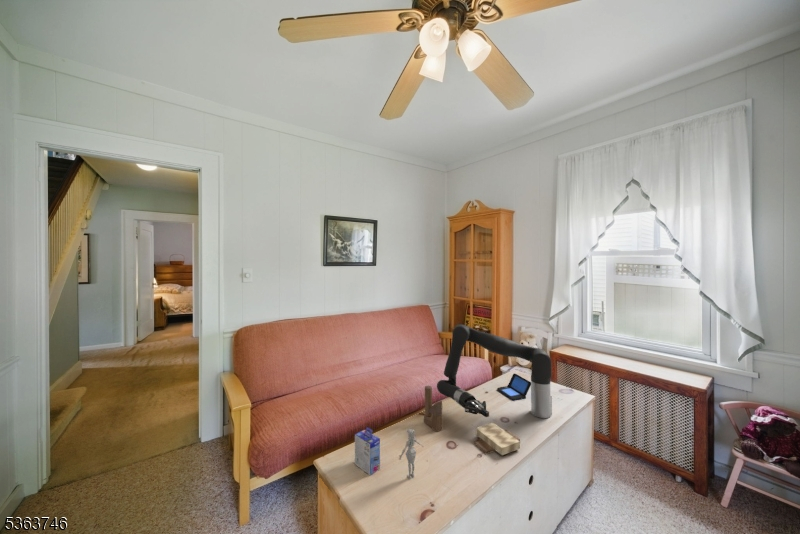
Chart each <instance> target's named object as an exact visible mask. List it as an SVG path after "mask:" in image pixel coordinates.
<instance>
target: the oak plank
mask: <svg viewBox="0 0 800 534" xmlns="http://www.w3.org/2000/svg"><path fill="white" fill-rule="evenodd" d="M504 430H505V429H502V428H501V427H500V426H499V425H497V424H496V423H494V422H491V423H488V424H485V425H482V426H478V427H476V428H475V431H476V432H475V436H476V437H479V439H482V440H484V441H485V442H486V443H487V444H488V445H490V446H491V447H492V448H493V449H495V450H496V452H497V453H498V454H499V455H501V456H504V455H507V454H510V453H512V452H515V451H517V450H520V449H521V440H520V441H519V440H517V439H516V438H514V437H513V436H511V435H510V434H509V433H507V432H506V431H504Z"/></svg>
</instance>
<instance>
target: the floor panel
mask: <svg viewBox="0 0 800 534" xmlns="http://www.w3.org/2000/svg"><path fill="white" fill-rule="evenodd" d="M503 430H504V431H506V432H507V433H509V434H510V435H511V436H513V437H514V438H516V439H517V440H519V441H520V442H521V439H520V438H519V437H517V436H516V435H514V434H513V433H512V432H510V431H509V430H507V429H503ZM473 443H474V445H476V447H478V448H479V449H480V450H481V451H482V452H484V453H485V455H487V454H490V453H493V452H495V451H496V450H495V449H493V448H492V447H491V446H490V445H488V444H487V443H486V442H485V441H484V440H482V439H481V438H479V439H475V440H474V441H473ZM496 452H497V451H496Z"/></svg>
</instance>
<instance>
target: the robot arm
mask: <svg viewBox="0 0 800 534" xmlns="http://www.w3.org/2000/svg"><path fill="white" fill-rule="evenodd" d="M451 334H452V337H451V346H450V349H449V354H448V356H447V360H446V362H445V367H444V369H443V370H444V371H443V375H444V376H445V377H446V378H447V380H446V379H440V380H439V381H437V383H436V388H437V389H436V390H437V391H438V392H439V394H441V395H443V396H445V397H448V398H450V399H451V400H453V401H454V402H456V404H458V405H459V406H461V407H462V408H463V409H464V413H469V414H472V415H478V414H479V415H482V416H483V417H485V418H489V417H490V411H488V410H487V401H485V400H483V401H482V402H481V401H480V400H477V398H476V397H475V396H474V395H473V394H471V393H470V392H468V391H466V390H465V389H462V388H461V387H460V386H457V374H458V371H459V370H458V369H459V367H460V362H461V357H462V353H463V349H464V347H465V345H466V343H467V342H469V343H473V344H476V345H478V346H480V347H482V348H483V349H485V350H487V351H489V352H492V353H494V354H497V355H501V356H504V357H511V358H513V357H514V358H520V359H522V360H525V361H527V362H529V363H531V374H530V382H531V386H530V403H531V404H530V406H531V407H530V408H531V409H530V410H531V411H530V413H531V414H532V415H533V416H534V417H537V418H540V419H548V418H551V416H552V415H553V398H552V397H553V396H552V394H551V392H552V391H551V390H552V389H551V387H552V386H551V385H552V384H551V379H552V359H551V356H550V355H549V354H548V352H547V351H546V350H544V349H543V348H537V347H534V346H530V345H529V346H528V345H525V344H523V343H522V344H521V343H520V342H516V341H514V340H511V339H508V338H505V337H503V336H499V335H495V334H492V333H489V332H483V331H480V330H477V329H475V328H472V327H470V326H468V325H465V324H462V323H460V324H457V325H456V326H454V328H453V330H452V333H451Z"/></svg>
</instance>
